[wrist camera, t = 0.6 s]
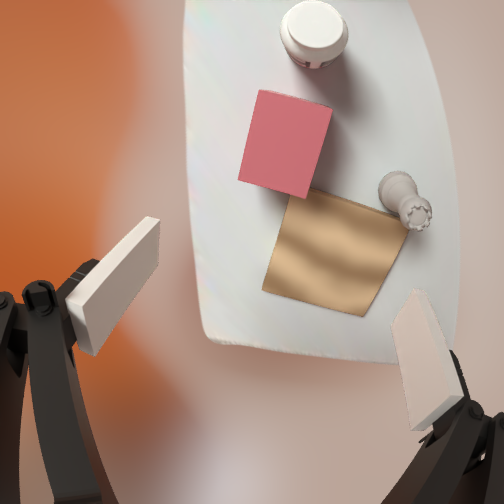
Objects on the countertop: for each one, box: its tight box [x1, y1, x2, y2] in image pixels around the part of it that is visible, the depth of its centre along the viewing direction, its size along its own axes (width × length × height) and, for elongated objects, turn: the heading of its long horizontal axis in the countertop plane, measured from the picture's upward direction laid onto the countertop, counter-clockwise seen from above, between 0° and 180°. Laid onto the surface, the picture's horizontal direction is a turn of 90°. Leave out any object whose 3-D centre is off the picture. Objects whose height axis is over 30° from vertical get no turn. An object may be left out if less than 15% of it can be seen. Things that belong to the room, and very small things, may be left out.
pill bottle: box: [280, 0, 348, 69], centre depth 20 cm, size 5×5×10 cm
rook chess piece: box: [378, 171, 432, 231], centre depth 27 cm, size 4×4×8 cm
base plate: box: [262, 188, 409, 317], centre depth 35 cm, size 14×14×1 cm
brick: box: [238, 90, 333, 199], centre depth 26 cm, size 8×6×7 cm
